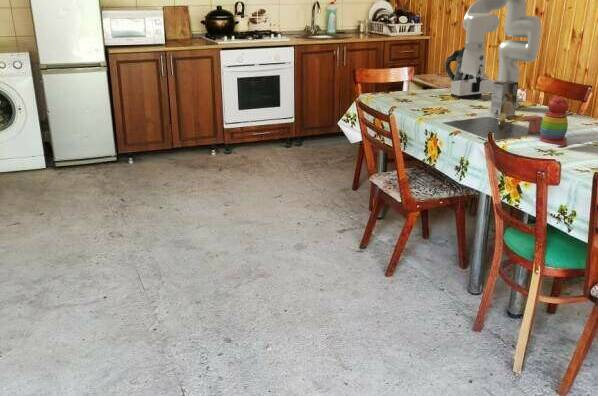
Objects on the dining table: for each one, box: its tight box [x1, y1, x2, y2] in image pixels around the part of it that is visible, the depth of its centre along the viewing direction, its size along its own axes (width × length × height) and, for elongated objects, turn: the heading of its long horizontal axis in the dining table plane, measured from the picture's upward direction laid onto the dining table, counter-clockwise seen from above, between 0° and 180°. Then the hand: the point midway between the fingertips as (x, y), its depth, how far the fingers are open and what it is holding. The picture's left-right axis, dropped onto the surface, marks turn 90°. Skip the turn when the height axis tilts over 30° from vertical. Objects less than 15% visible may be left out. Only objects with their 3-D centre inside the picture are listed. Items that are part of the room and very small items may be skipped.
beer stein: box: [444, 47, 483, 100], centre depth 302 cm, size 16×19×25 cm
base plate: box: [442, 115, 541, 142], centre depth 242 cm, size 26×32×1 cm
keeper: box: [515, 114, 543, 133], centre depth 232 cm, size 10×4×6 cm, turn 114°
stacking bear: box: [539, 95, 571, 149], centre depth 219 cm, size 11×10×18 cm
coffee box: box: [489, 80, 519, 119], centre depth 259 cm, size 9×6×16 cm
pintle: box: [498, 113, 507, 127], centre depth 242 cm, size 3×3×6 cm
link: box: [449, 77, 496, 96], centre depth 243 cm, size 17×6×5 cm, turn 114°
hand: (470, 90), depth 244 cm, fingers closed on link, 6 cm apart
